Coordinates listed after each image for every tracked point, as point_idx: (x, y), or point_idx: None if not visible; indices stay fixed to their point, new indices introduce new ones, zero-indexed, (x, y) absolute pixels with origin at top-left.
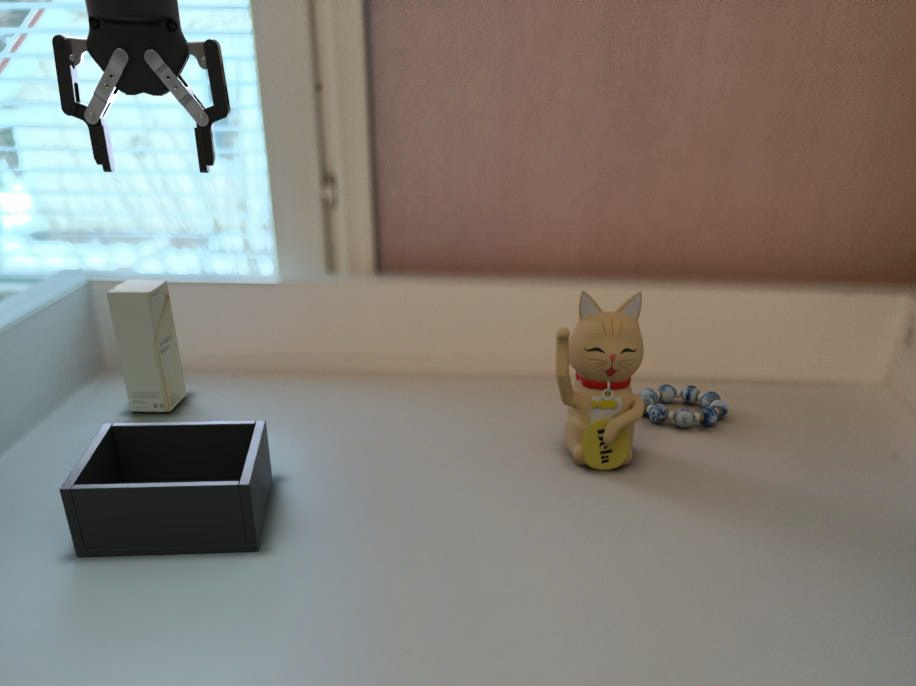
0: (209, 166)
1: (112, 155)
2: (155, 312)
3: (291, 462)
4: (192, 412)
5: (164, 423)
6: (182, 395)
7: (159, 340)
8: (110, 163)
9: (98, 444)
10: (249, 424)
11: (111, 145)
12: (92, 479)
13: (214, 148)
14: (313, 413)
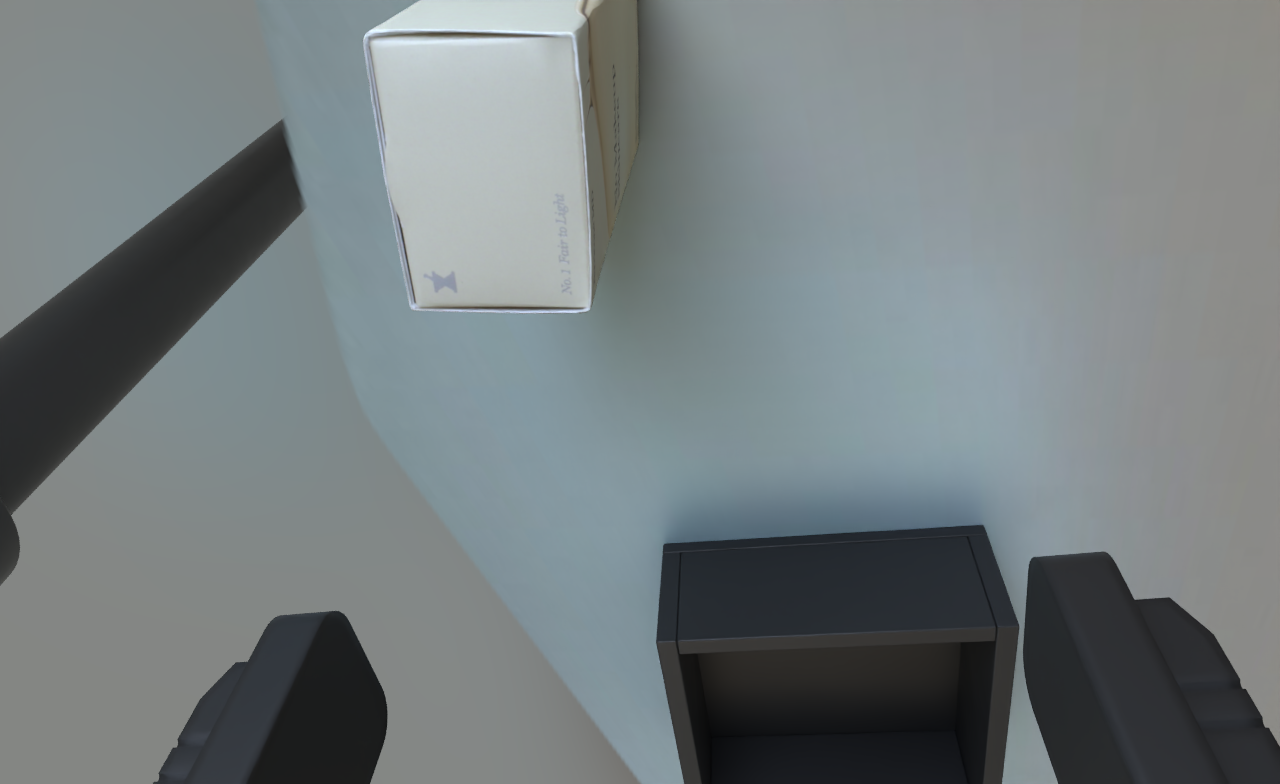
0: (1110, 561)
1: (313, 706)
2: (601, 235)
3: (1026, 442)
4: (703, 121)
5: (788, 642)
6: (636, 1)
7: (614, 205)
8: (370, 747)
9: (689, 720)
10: (981, 640)
11: (269, 745)
12: (700, 742)
13: (1253, 712)
14: (1108, 101)
